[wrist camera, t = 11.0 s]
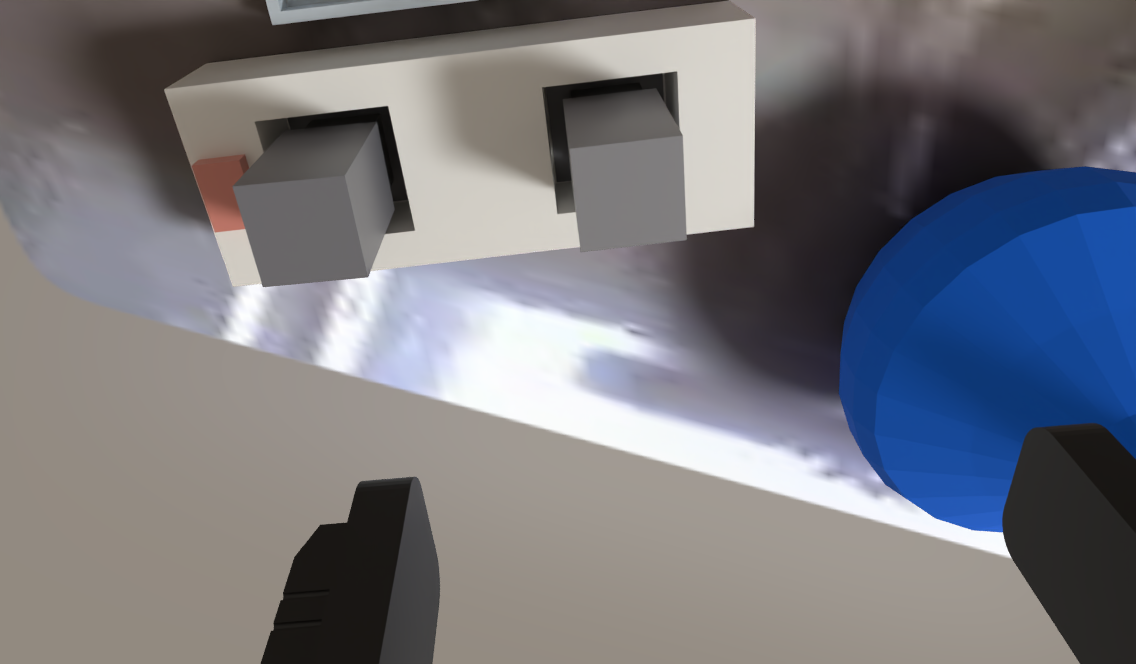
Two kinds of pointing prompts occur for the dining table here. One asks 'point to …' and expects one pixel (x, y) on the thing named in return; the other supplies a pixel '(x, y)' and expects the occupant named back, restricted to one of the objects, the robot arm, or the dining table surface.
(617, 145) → the twin plug
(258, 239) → the plug
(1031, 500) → the robot arm
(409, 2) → the tray
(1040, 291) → the blue rounded piece
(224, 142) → the pdu strip
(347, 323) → the dining table surface
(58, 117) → the dining table surface
